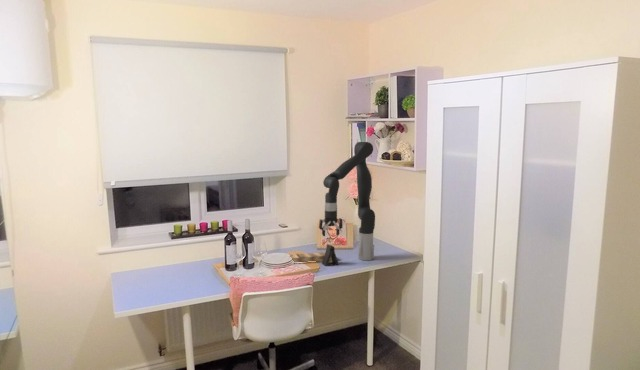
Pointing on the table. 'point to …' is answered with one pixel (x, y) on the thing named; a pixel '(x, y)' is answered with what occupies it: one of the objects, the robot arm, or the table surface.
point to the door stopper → (327, 255)
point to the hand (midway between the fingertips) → (330, 235)
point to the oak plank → (309, 257)
